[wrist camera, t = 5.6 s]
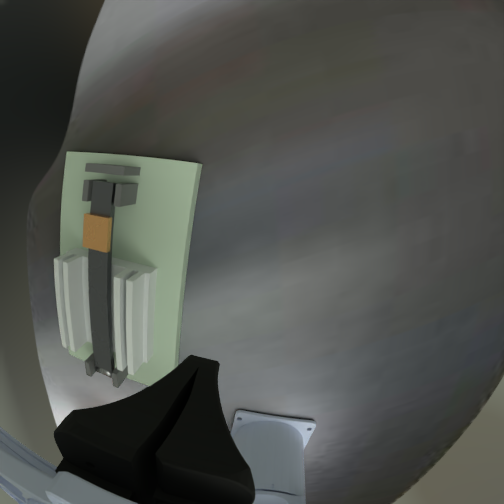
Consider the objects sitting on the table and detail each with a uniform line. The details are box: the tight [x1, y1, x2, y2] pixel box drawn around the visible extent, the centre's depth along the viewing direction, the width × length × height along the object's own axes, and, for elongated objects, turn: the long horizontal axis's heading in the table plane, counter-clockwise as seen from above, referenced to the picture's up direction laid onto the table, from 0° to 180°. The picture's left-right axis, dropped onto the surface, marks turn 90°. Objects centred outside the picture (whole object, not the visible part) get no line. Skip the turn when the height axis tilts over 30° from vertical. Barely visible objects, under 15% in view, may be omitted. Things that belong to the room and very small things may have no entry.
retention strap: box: [83, 181, 118, 378], centre depth 20 cm, size 16×2×1 cm, turn 170°
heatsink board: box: [54, 152, 202, 388], centre depth 21 cm, size 20×12×5 cm, turn 170°
